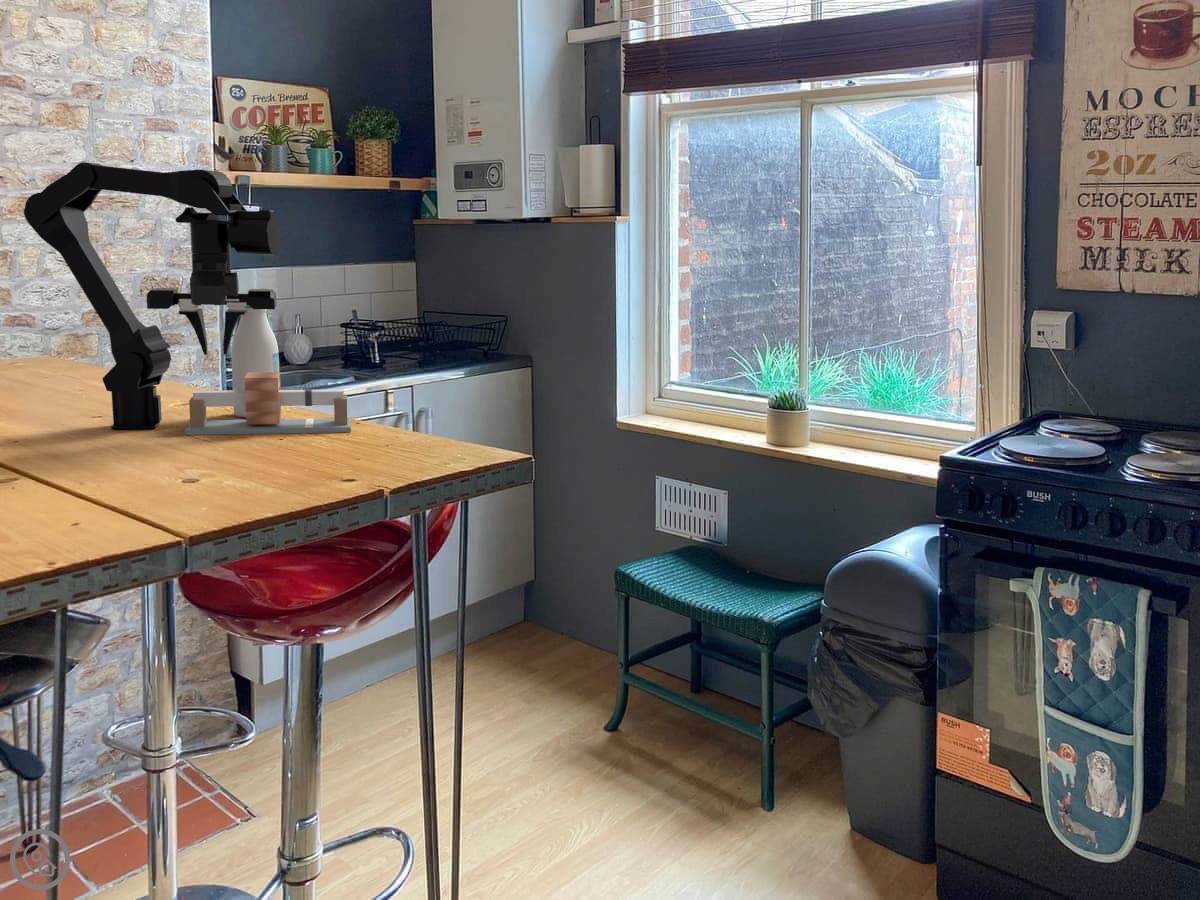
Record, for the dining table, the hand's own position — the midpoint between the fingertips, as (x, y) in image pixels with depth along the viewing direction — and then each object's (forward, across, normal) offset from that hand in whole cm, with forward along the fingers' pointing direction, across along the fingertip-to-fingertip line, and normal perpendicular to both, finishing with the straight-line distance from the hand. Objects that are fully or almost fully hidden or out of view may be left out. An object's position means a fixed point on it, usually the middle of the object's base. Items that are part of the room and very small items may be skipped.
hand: (215, 354), depth 179 cm
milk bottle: (+12, +5, +13) cm, 19 cm away
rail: (+12, +8, 0) cm, 14 cm away
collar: (+11, +7, 0) cm, 13 cm away
